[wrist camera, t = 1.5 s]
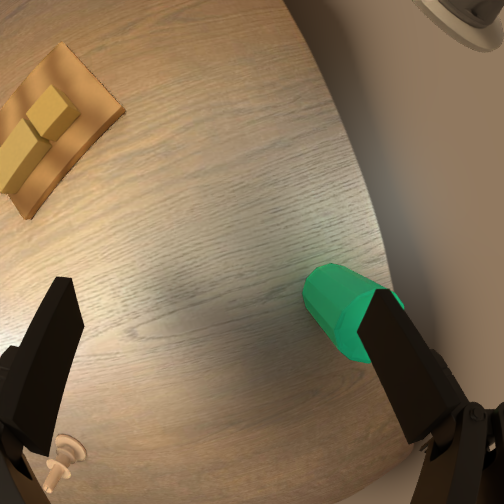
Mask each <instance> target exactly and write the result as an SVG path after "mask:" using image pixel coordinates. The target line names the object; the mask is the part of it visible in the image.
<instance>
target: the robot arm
mask: <svg viewBox="0 0 504 504" xmlns="http://www.w3.org/2000/svg"><path fill="white" fill-rule="evenodd" d="M438 1H439V2H440V3H441V4H442V5H443V6H444V7H445V8H446V9H447V10H448V11H450V12H451V13H452V14H453V15H454V16H456V17H457V18H459V19H460V20H461V21H463V22H465V23H466V24H468V25H470V26H472V27H475V28H479V29H483V28H486V27H487V26H489V25H491V24H492V23H493V22H494V20H495V19H496V17H497V16H498V14H499V12H500V10H501V9H502V7H503V6H504V0H438ZM83 329H84V323H83V319H82V316H81V312H80V309H79V305H78V301H77V298H76V294H75V290H74V285H73V281H72V278H67V277H56V278H55V279H54V281H53V283H52V285H51V286H50V288H49V290H48V292H47V293H46V295H45V297H44V299H43V301H42V302H41V304H40V306H39V308H38V310H37V312H36V314H35V316H34V318H33V320H32V322H31V324H30V326H29V328H28V330H27V332H26V334H25V336H24V338H23V340H22V342H21V344H20V346H19V347H16V346H11V345H10V346H9V348H8V349H7V350H6V351H5V352H4V353H3V354H2V355H1V357H0V504H51V503H50V501H49V500H48V498H47V496H46V495H45V493H44V491H43V489H42V488H41V486H40V484H39V482H38V480H37V479H36V477H35V475H34V473H33V471H32V469H31V467H30V465H29V463H28V461H27V459H26V457H25V455H24V454H23V452H22V451H23V446H25V447H26V448H27V449H28V450H29V451H30V452H33V453H36V454H40V455H43V456H47V457H49V452H50V447H51V442H52V437H53V432H54V428H55V424H56V419H57V415H58V411H59V407H60V403H61V400H62V396H63V392H64V389H65V385H66V382H67V378H68V375H69V372H70V368H71V365H72V362H73V359H74V356H75V353H76V349H77V346H78V344H79V341H80V338H81V335H82V332H83ZM357 334H358V336H359V338H360V340H361V342H362V344H363V346H364V348H365V350H366V352H367V354H368V356H369V358H370V360H371V362H372V365H373V367H374V369H375V371H376V373H377V375H378V377H379V379H380V381H381V384H382V386H383V388H384V390H385V392H386V394H387V397H388V399H389V401H390V403H391V405H392V408H393V410H394V412H395V414H396V417H397V419H398V421H399V423H400V426H401V428H402V430H403V433H404V435H405V437H406V440H407V442H408V444H412V443H414V442H417V441H420V440H423V439H424V438H425V437H426V436H427V435H428V434H429V433H430V432H431V434H432V436H433V437H432V438H431V439H430V440H429V441H428V442H426V443H425V444H424V445H423V446H421V448H420V451H422V450H423V449H425V448H426V447H427V446H428V448H427V450H426V451H425V453H426V455H425V459H424V463H423V466H422V469H421V473H420V476H419V479H418V482H417V485H416V488H415V491H414V494H413V497H412V500H411V503H410V504H504V402H502V403H501V404H500V405H499V406H498V407H497V408H496V409H484V408H483V407H482V406H481V405H480V404H478V403H476V402H469V401H468V399H467V397H466V396H465V394H464V392H463V391H462V389H461V387H460V385H459V384H458V382H457V381H456V379H455V377H454V375H452V372H451V371H450V369H449V368H448V367H447V364H446V363H445V361H444V359H443V358H442V356H441V355H439V354H438V353H437V352H436V351H435V350H434V349H429V347H428V346H427V344H426V343H425V341H424V340H423V338H422V336H421V335H420V333H419V332H418V330H417V329H416V327H415V326H414V324H413V323H412V321H411V320H410V318H409V317H408V315H407V314H406V312H405V311H404V310H403V308H402V307H401V305H400V304H399V302H398V301H397V299H396V298H395V297H394V295H393V294H392V292H391V291H390V289H376V290H375V292H374V294H373V297H372V299H371V301H370V304H369V306H368V308H367V310H366V313H365V315H364V317H363V319H362V321H361V323H360V325H359V328H358V330H357ZM494 442H495V446H496V448H495V449H494V450H492V451H490V449H489V446H490V445H492V444H493V443H494Z"/></svg>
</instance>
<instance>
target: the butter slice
mask: <svg viewBox="0 0 504 504" xmlns="http://www.w3.org/2000/svg"><path fill="white" fill-rule="evenodd" d="M80 114H81V113H80V112H79V111H78V109H77V108H76V107H75V106H74V104H73V103H72V102H71V101H70V99H69V98H68V97H67V96H66V95H65V93H64V92H62V91H61V90H59V89H58V88H56V87H55V86H53V85H50V86H49V87H48V88H47V89H46V90H45V92H44V93H43V94H42V95H41V96H40V97H39V98H38V100H37V101H36V102H35V103H34V104H33V105H32V107H31V108H30V109H29V110H28V111H27V113H26V115H27V117H28V118H29V120H30V121H31V123H32V124H33V125H34V127H35V128H36V130H37V131H38V133H39V134H40V136H41V137H44V138H46V139H49V140H52V141H55V142H56V141H57V140H58V139H59V137H60V136H61V135H62V134H63V133H64V132H65V131H66V129H67V128H68V127H69V126H70V125H71V124H72V123H73V122H74V121H75V120H76V118H77V117H78V116H79V115H80Z"/></svg>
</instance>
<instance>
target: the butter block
mask: <svg viewBox="0 0 504 504" xmlns="http://www.w3.org/2000/svg"><path fill="white" fill-rule="evenodd" d="M51 147H52V144H51V143H50V142H49V140H48V139H46V138H44V137H41V136H40V134H39V133H38V131H37V130H36V128H35V127H34V125H33V124H32V123H31V121H29V120H26V119H24V118H22V119H21V120H20V121H19V123H18V124H17V125H16V127H15V128H14V129H13V131H12V132H11V133H10V135H9V136H8V138H7V139H6V140H5V142H4V143H3V145H2V146H1V147H0V193H1V194H16V193H17V192H18V190H19V189H20V188H21V186H22V185H23V183H24V182H25V180H26V179H27V178H28V176H29V175H30V174H31V172H32V171H33V170H34V168H35V167H36V166H37V164H38V163H39V162H40V161H41V159H42V158H43V157H44V155H45V154H46V153H47V152H48V151H49V149H50V148H51Z"/></svg>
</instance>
